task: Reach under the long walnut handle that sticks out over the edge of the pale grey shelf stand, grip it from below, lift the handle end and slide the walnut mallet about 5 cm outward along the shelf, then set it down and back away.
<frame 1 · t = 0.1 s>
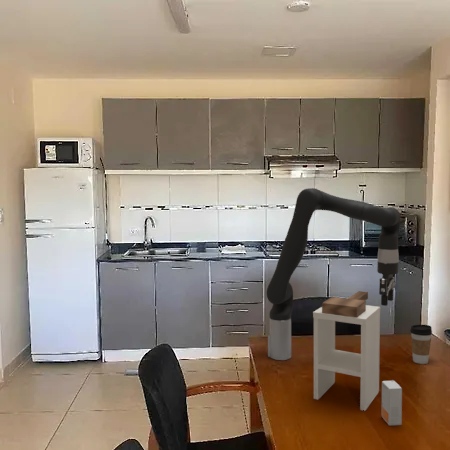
hand: (387, 302, 186), 29 cm above the table, tool pointing down, fingers open, 8 cm apart
walnut mallet: (350, 307, 173), point 31 cm above the table, touching shelf stand
skincare box: (391, 421, 154), on the table
coffee cup: (420, 361, 204), on the table
shelf stand: (346, 395, 173), on the table
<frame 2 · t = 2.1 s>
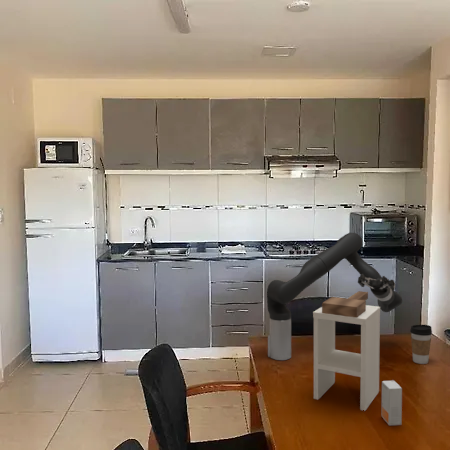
hand: (372, 277, 196), 37 cm above the table, tool pointing upward, fingers open, 8 cm apart
nothing on the table moved.
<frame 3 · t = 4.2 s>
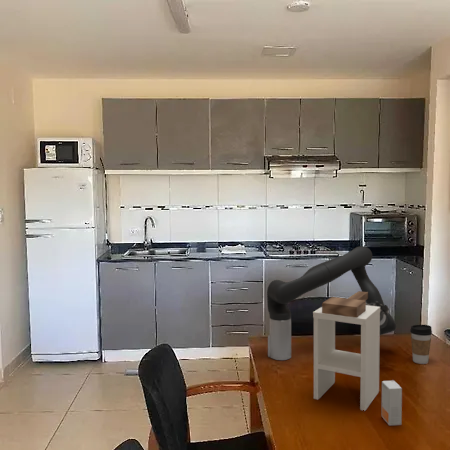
hand: (365, 302, 189), 29 cm above the table, tool pointing upward, fingers open, 8 cm apart
nothing on the table moved.
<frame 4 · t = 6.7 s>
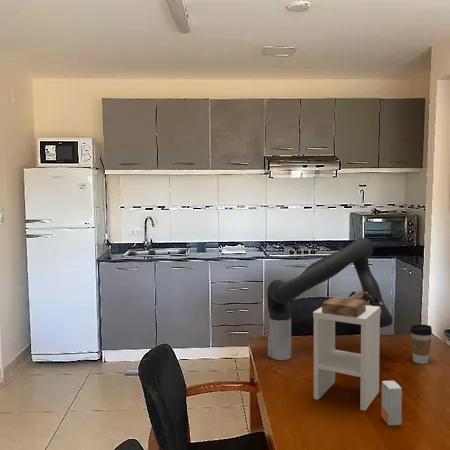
hand: (358, 294, 181), 34 cm above the table, tool pointing upward, fingers closed on walnut mallet, 3 cm apart
walnut mallet: (349, 307, 173), point 31 cm above the table, touching gripper, shelf stand
everything else where it was.
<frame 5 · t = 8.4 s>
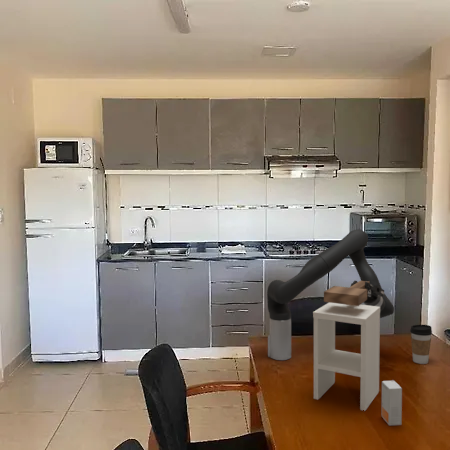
hand: (360, 283, 182), 37 cm above the table, tool pointing upward, fingers closed on walnut mallet, 3 cm apart
walnut mallet: (351, 296, 174), point 35 cm above the table, touching gripper
everything else where it was.
when the fingers open (34 cm above the table, at t = 10.4 s): walnut mallet stays where it is, resting on shelf stand.
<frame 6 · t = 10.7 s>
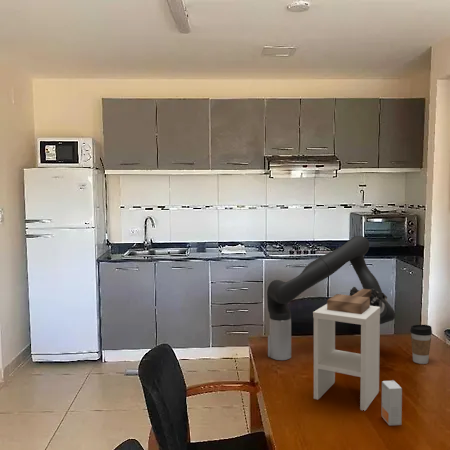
hand: (363, 290, 186), 34 cm above the table, tool pointing upward, fingers open, 6 cm apart
walnut mallet: (354, 304, 177), point 31 cm above the table, touching shelf stand
everything else where it was.
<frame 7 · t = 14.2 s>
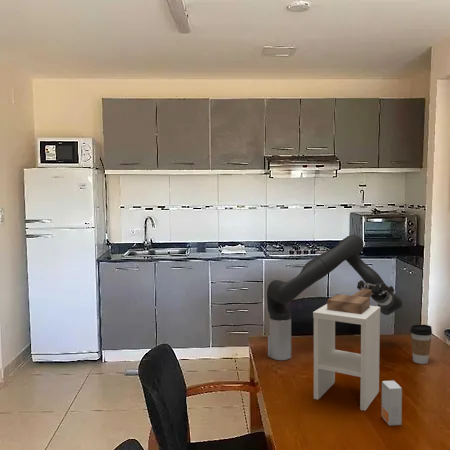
hand: (371, 283, 196), 34 cm above the table, tool pointing upward, fingers open, 8 cm apart
nothing on the table moved.
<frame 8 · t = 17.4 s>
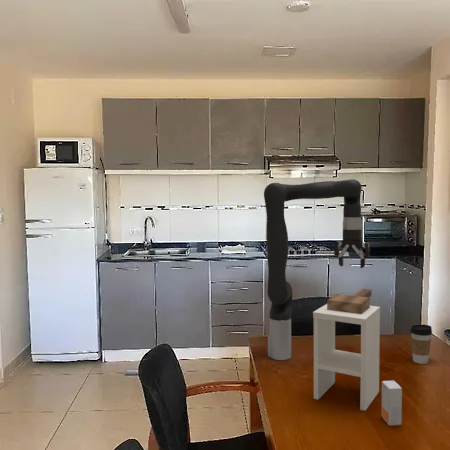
hand: (351, 267, 202), 40 cm above the table, tool pointing down, fingers open, 8 cm apart
nothing on the table moved.
at the end: walnut mallet inside the target area (0.8 cm from its centre), point 31.0 cm above the table; the gripper is holding nothing; walnut mallet tilted 0° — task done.
